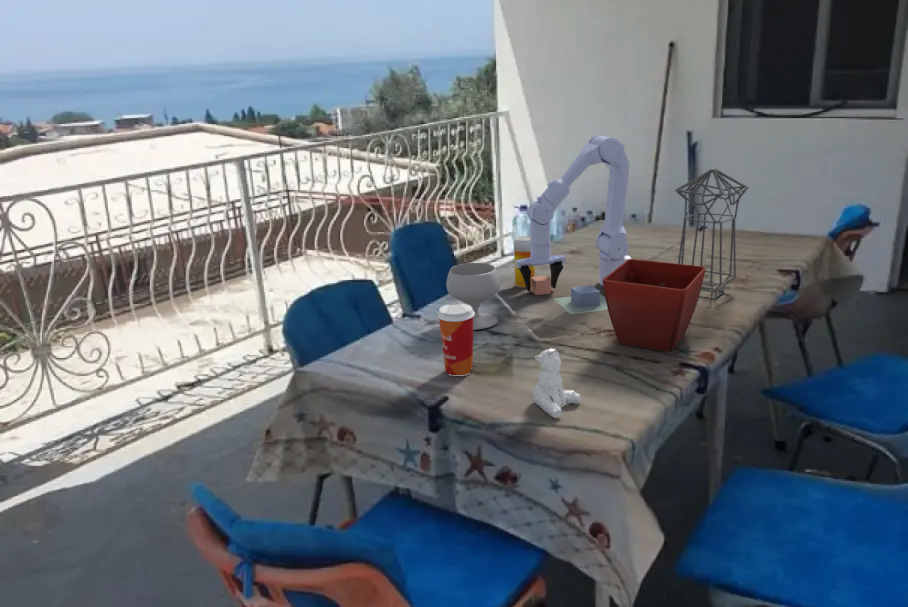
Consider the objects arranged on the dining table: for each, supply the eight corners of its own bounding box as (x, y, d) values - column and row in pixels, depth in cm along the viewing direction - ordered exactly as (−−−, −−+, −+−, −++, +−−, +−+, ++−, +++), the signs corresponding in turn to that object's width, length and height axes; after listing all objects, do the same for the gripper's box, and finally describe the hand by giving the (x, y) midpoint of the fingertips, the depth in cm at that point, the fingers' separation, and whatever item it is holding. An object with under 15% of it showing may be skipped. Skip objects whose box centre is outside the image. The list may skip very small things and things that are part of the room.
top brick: (545, 291, 210) (545, 275, 209) (551, 296, 206) (550, 279, 205) (531, 293, 210) (531, 277, 208) (536, 298, 205) (536, 281, 204)
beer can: (534, 289, 212) (533, 241, 208) (513, 289, 214) (512, 241, 209) (536, 283, 218) (535, 236, 213) (516, 283, 219) (515, 236, 214)
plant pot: (681, 360, 159) (685, 289, 153) (599, 347, 169) (601, 279, 163) (702, 332, 174) (707, 266, 169) (626, 321, 184) (628, 258, 178)
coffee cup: (439, 365, 163) (435, 304, 158) (475, 362, 164) (472, 301, 159) (442, 381, 155) (438, 316, 151) (479, 377, 156) (476, 313, 151)
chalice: (440, 319, 192) (437, 266, 187) (487, 310, 197) (485, 258, 192) (461, 336, 180) (458, 279, 175) (510, 326, 185) (509, 270, 180)
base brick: (591, 298, 200) (591, 285, 198) (599, 305, 194) (600, 291, 193) (571, 301, 198) (571, 287, 197) (579, 307, 193) (579, 294, 192)
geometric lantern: (666, 295, 201) (672, 171, 191) (691, 282, 212) (698, 164, 202) (721, 305, 191) (730, 174, 181) (744, 291, 202) (754, 166, 191)
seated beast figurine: (556, 421, 136) (556, 363, 132) (520, 408, 141) (518, 353, 137) (583, 402, 142) (583, 347, 139) (547, 391, 148) (546, 338, 144)
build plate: (598, 295, 204) (598, 292, 204) (619, 310, 191) (619, 308, 191) (552, 301, 202) (552, 298, 201) (570, 317, 189) (570, 314, 188)
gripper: (559, 237, 208) (559, 282, 212) (511, 242, 205) (513, 287, 210) (568, 243, 202) (568, 288, 206) (519, 248, 199) (520, 294, 203)
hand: (540, 288), depth 207 cm, fingers open, 7 cm apart
